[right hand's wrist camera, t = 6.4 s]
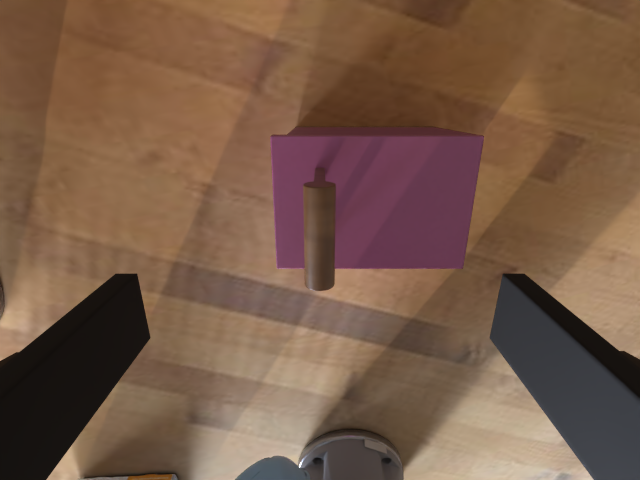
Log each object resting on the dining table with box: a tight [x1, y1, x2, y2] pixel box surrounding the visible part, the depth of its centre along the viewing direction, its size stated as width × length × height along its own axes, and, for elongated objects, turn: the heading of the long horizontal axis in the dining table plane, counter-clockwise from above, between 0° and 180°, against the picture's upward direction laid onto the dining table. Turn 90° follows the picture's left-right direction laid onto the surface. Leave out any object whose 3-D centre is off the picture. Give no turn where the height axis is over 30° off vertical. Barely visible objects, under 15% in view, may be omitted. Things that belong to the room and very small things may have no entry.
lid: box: [271, 135, 484, 291], centre depth 23 cm, size 15×10×8 cm
